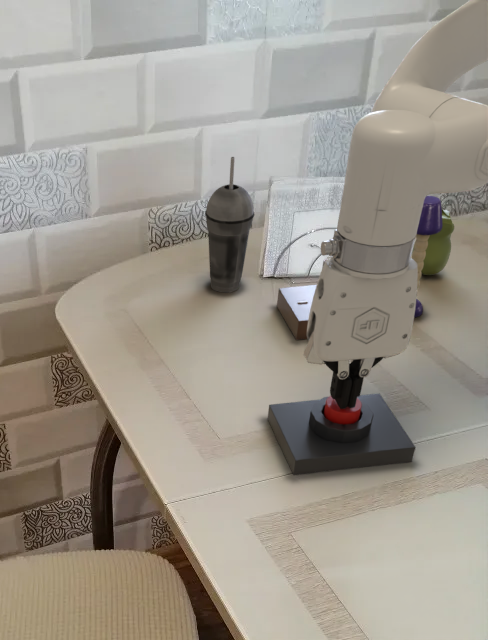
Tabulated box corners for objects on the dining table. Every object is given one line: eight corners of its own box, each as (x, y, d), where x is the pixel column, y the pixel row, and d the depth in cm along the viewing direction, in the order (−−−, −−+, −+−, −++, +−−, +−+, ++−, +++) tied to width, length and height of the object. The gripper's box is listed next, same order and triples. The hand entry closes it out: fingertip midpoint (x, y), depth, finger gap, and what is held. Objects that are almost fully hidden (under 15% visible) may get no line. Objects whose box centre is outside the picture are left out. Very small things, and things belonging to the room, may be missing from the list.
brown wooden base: (353, 299, 121) (357, 279, 118) (378, 332, 113) (382, 312, 111) (276, 306, 120) (278, 287, 118) (296, 340, 112) (298, 320, 110)
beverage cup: (249, 276, 127) (260, 146, 114) (247, 297, 122) (258, 164, 109) (204, 274, 128) (209, 145, 115) (199, 295, 123) (205, 162, 110)
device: (376, 407, 100) (382, 380, 97) (412, 462, 91) (419, 434, 89) (267, 418, 99) (270, 392, 96) (293, 475, 90) (297, 447, 88)
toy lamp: (412, 322, 115) (439, 208, 104) (382, 312, 117) (406, 200, 106) (427, 309, 117) (455, 197, 106) (398, 300, 120) (422, 189, 109)
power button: (352, 403, 94) (354, 391, 93) (364, 423, 91) (366, 411, 90) (319, 407, 94) (321, 394, 93) (330, 427, 91) (332, 414, 90)
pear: (443, 266, 127) (459, 205, 121) (445, 282, 124) (462, 219, 117) (407, 264, 128) (420, 203, 122) (408, 279, 125) (422, 216, 118)
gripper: (311, 271, 76) (289, 427, 88) (461, 258, 77) (419, 414, 89) (288, 239, 81) (270, 389, 93) (429, 227, 82) (393, 377, 95)
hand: (343, 401), depth 91 cm, fingers closed
